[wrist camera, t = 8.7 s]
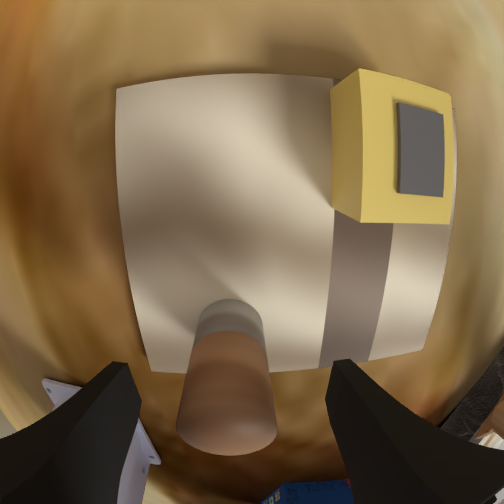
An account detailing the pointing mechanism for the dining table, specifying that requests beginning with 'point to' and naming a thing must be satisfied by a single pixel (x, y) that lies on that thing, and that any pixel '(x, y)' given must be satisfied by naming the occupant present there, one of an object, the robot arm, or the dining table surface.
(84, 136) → the dining table surface
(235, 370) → the grey-capped tan cylinder
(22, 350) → the dining table surface
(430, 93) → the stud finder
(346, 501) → the blue product box
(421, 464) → the robot arm
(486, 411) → the hammer
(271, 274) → the striped beige square plate
